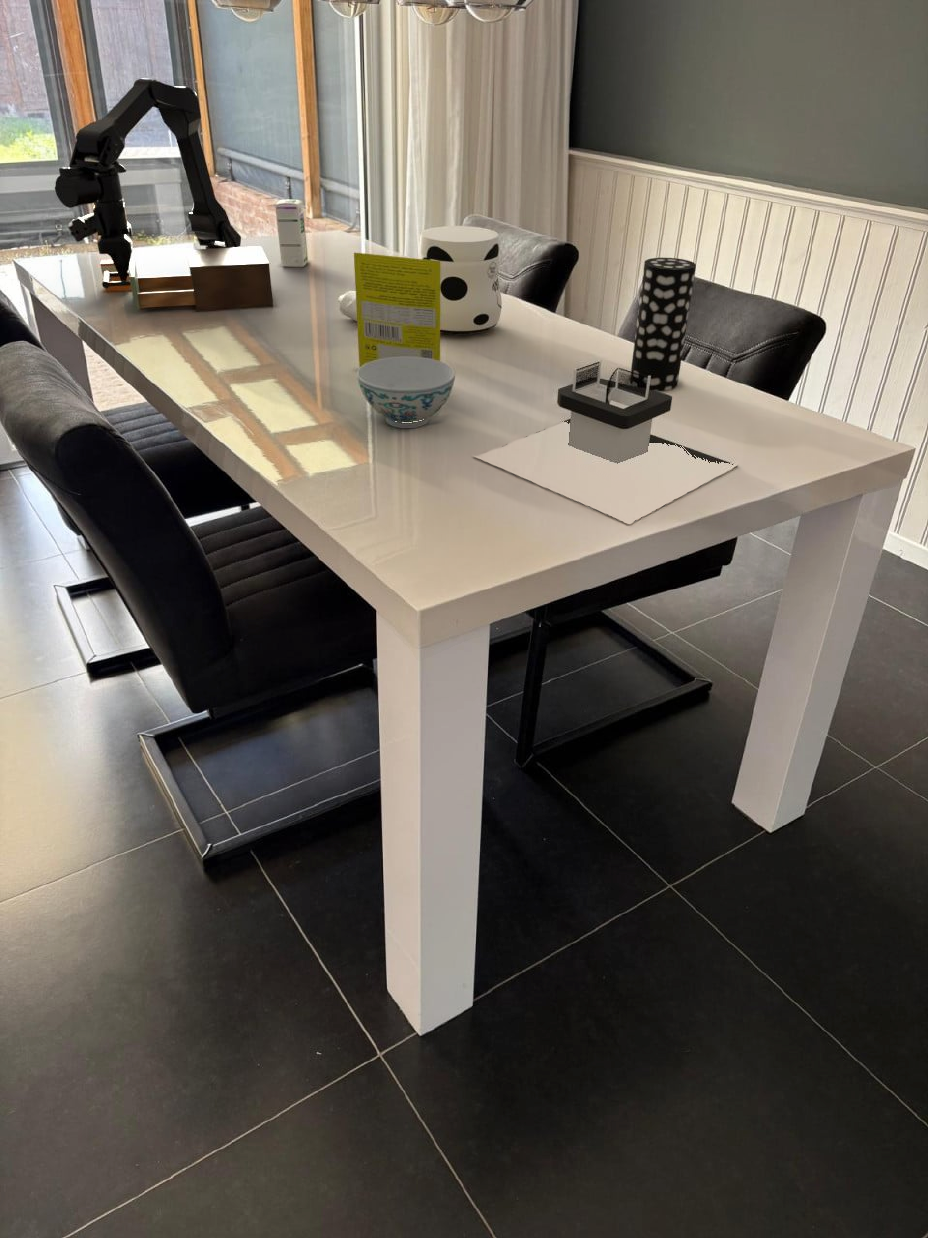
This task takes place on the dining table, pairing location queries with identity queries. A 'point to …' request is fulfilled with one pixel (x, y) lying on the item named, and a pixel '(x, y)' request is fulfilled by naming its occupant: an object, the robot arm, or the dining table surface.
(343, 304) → the roll
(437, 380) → the chinaware
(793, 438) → the dining table surface
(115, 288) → the snack box
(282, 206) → the syrup box
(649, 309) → the white-spotted black cylinder
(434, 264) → the food package
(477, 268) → the milk container
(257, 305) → the organizer
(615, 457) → the black-topped pedestal
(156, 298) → the drawer
